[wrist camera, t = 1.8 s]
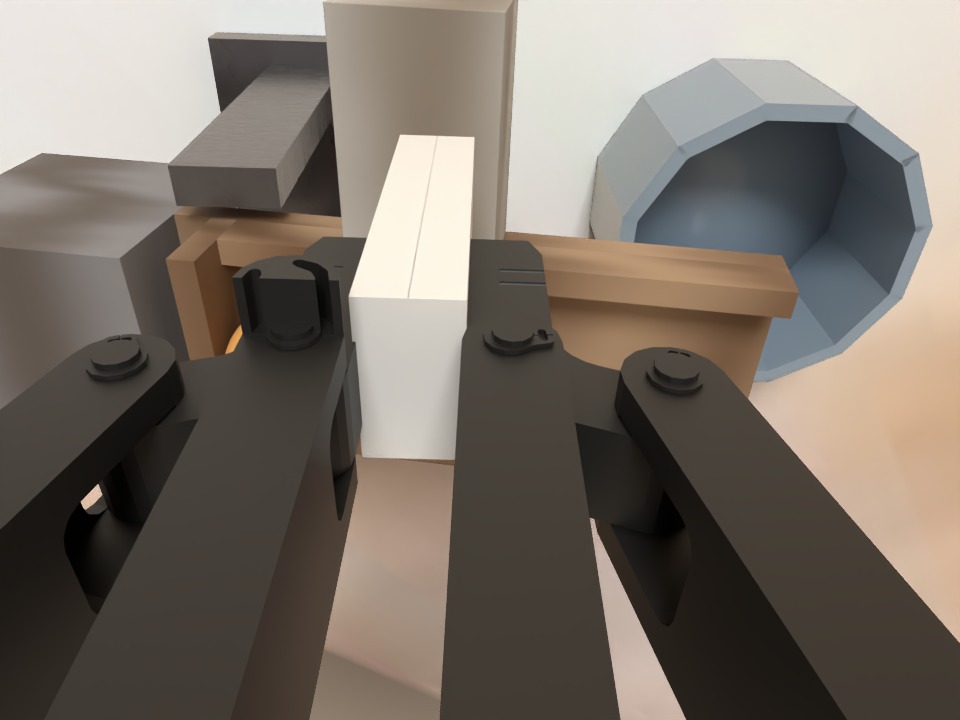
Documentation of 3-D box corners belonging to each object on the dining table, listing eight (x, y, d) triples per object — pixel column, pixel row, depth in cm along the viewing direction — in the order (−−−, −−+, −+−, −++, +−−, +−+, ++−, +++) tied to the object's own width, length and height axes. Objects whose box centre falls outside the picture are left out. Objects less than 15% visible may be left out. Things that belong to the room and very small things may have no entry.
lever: (99, 332, 30) (-19, 442, 24) (-25, -53, 22) (-245, -25, 16) (711, 397, 28) (740, 536, 22) (821, -9, 20) (912, 43, 14)
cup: (579, 299, 38) (597, 377, 32) (610, 54, 31) (640, 98, 25) (807, 305, 38) (866, 384, 33) (889, 63, 31) (981, 109, 26)
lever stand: (260, 298, 38) (170, 478, 27) (216, 32, 31) (67, 130, 19) (412, 301, 38) (384, 482, 27) (404, 38, 31) (363, 139, 20)
